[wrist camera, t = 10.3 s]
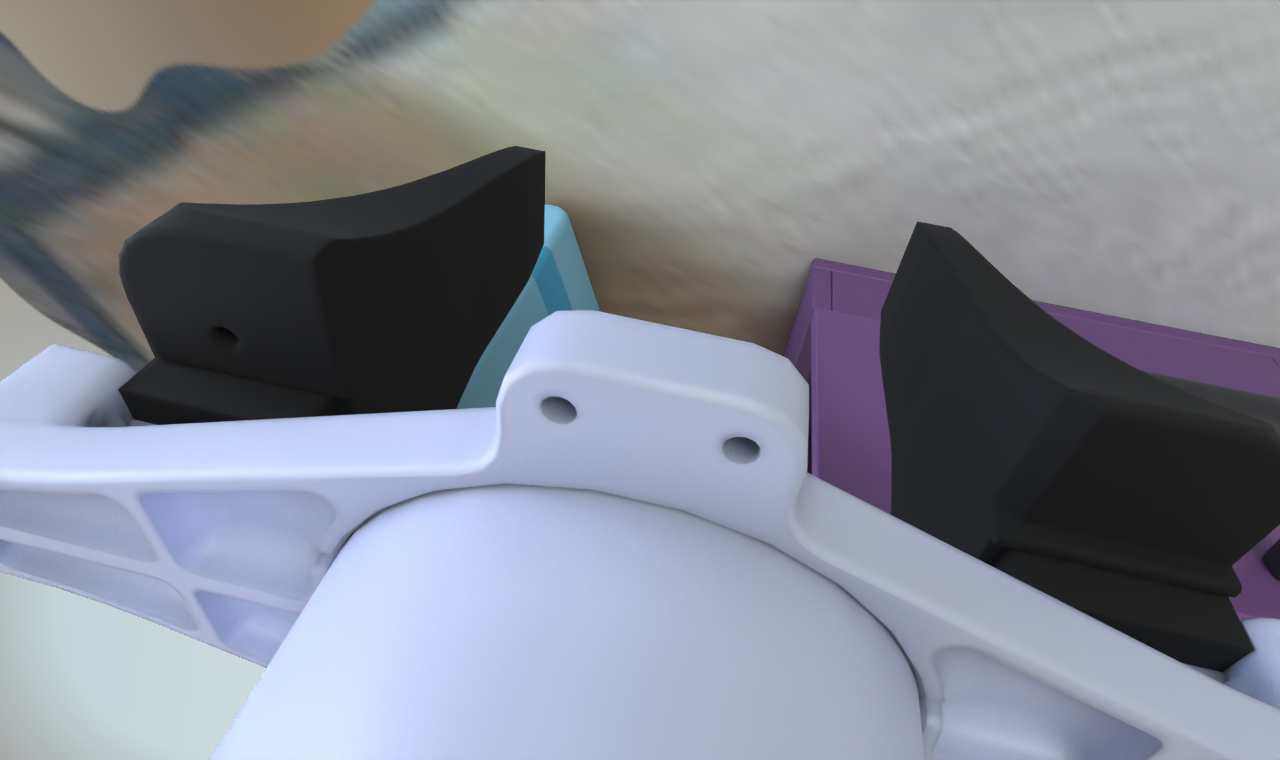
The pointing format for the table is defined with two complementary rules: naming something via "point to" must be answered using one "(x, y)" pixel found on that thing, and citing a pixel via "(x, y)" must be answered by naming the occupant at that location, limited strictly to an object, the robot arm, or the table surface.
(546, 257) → the data package
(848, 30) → the table surface
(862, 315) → the purple box
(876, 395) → the cover
